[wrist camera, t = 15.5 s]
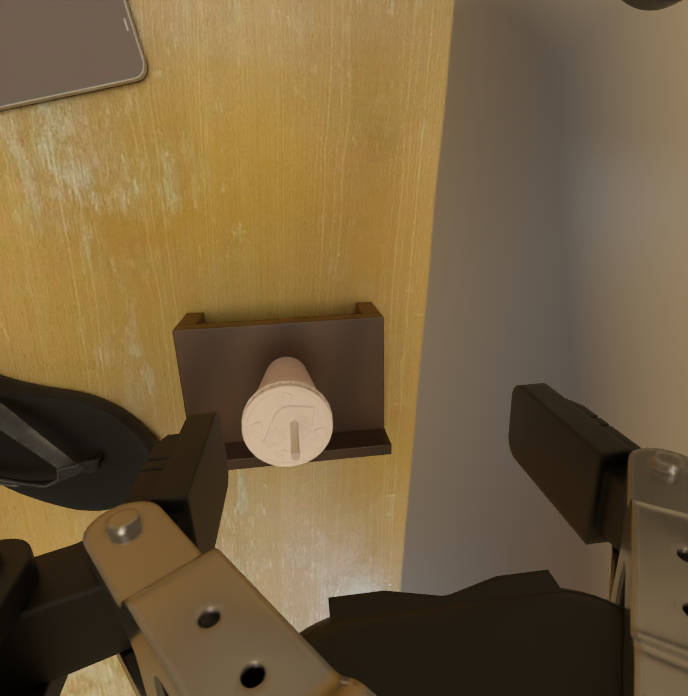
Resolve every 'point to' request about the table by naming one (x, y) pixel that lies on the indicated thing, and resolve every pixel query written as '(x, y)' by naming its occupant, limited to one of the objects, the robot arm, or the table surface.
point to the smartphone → (65, 49)
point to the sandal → (68, 446)
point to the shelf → (304, 345)
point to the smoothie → (287, 416)
